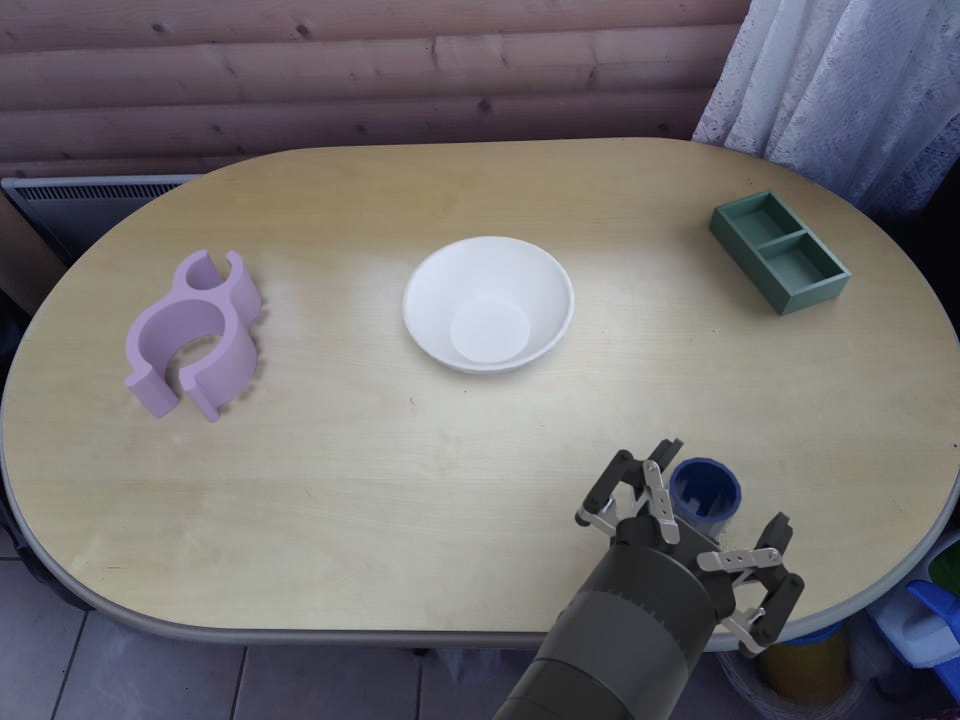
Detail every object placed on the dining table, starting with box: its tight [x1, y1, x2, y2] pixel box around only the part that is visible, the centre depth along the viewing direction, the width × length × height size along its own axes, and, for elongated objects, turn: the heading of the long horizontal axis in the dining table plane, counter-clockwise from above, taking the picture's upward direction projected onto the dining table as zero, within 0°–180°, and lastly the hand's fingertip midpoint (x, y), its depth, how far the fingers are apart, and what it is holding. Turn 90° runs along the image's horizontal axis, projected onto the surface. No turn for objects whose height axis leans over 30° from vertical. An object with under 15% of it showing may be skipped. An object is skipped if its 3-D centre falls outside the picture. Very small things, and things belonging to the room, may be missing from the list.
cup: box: [665, 456, 743, 541], centre depth 64 cm, size 6×6×10 cm
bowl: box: [401, 235, 575, 376], centre depth 80 cm, size 20×20×7 cm
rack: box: [708, 188, 853, 317], centre depth 85 cm, size 8×16×4 cm, turn 21°
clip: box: [123, 248, 263, 423], centre depth 81 cm, size 20×12×7 cm, turn 174°
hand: (725, 482), depth 49 cm, fingers open, 8 cm apart
